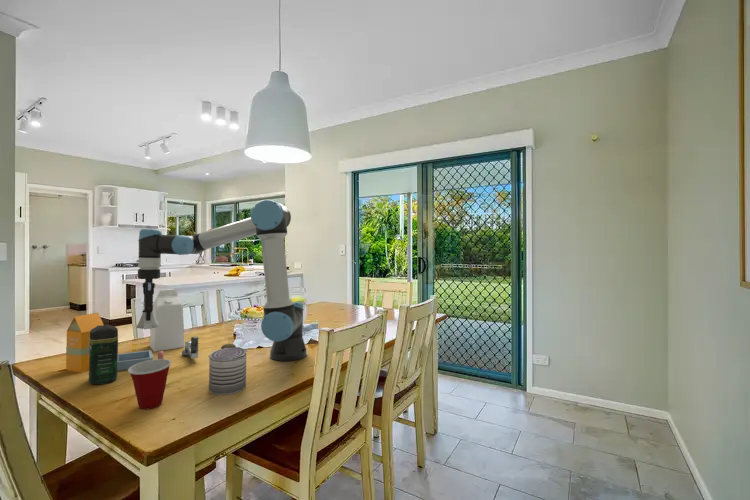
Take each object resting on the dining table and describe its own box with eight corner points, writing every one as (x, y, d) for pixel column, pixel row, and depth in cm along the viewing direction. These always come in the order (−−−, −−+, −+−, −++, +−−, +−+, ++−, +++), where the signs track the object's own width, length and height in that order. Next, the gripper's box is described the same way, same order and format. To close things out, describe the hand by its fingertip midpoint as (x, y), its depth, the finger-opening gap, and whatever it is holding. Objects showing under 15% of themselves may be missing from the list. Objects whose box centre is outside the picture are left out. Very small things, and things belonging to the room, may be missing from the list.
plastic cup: (120, 407, 106) (120, 365, 106) (159, 395, 115) (160, 356, 115) (138, 417, 100) (138, 373, 100) (178, 403, 109) (178, 363, 109)
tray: (152, 365, 142) (153, 357, 142) (114, 371, 135) (114, 362, 135) (151, 357, 152) (151, 350, 152) (115, 362, 145) (115, 354, 145)
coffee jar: (118, 382, 125) (119, 327, 125) (88, 387, 120) (89, 330, 120) (116, 374, 132) (117, 322, 132) (88, 378, 128) (89, 324, 127)
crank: (184, 349, 158) (184, 331, 158) (194, 348, 160) (194, 330, 160) (189, 359, 145) (189, 338, 145) (200, 357, 147) (200, 337, 147)
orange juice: (65, 370, 136) (66, 315, 135) (90, 363, 144) (91, 311, 144) (81, 372, 133) (81, 317, 133) (105, 365, 142) (106, 313, 141)
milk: (178, 341, 177) (179, 287, 177) (184, 347, 169) (185, 290, 168) (149, 345, 170) (150, 289, 170) (153, 351, 161) (154, 291, 161)
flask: (162, 325, 148) (163, 301, 148) (149, 329, 141) (150, 303, 141) (145, 324, 149) (146, 300, 149) (132, 328, 142) (133, 302, 142)
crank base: (198, 355, 157) (198, 351, 157) (182, 357, 153) (182, 353, 153) (196, 351, 162) (196, 348, 162) (181, 353, 158) (181, 350, 158)
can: (253, 386, 123) (253, 350, 123) (222, 398, 113) (223, 359, 113) (231, 379, 129) (232, 345, 129) (201, 389, 120) (201, 352, 120)
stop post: (163, 362, 146) (163, 352, 146) (157, 363, 145) (158, 352, 145) (163, 361, 148) (163, 351, 148) (157, 361, 147) (157, 351, 147)
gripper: (137, 266, 151) (135, 322, 152) (138, 270, 134) (136, 333, 135) (158, 266, 156) (156, 320, 156) (162, 270, 138) (160, 331, 139)
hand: (147, 326), depth 145 cm, fingers closed on flask, 8 cm apart
